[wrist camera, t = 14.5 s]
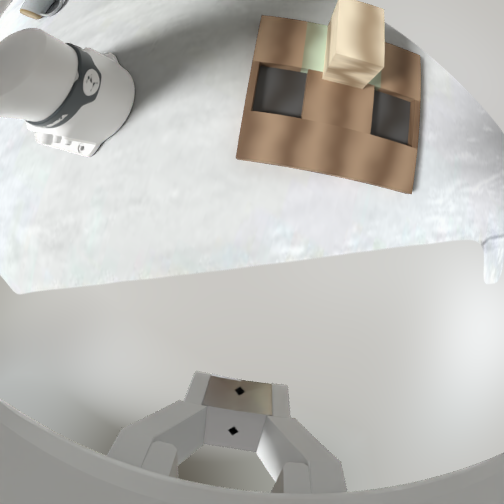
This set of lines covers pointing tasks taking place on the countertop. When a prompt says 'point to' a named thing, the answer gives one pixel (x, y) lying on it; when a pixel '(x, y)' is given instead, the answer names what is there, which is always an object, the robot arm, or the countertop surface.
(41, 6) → the ceramic mug
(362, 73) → the birch block
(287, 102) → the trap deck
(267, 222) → the countertop surface
